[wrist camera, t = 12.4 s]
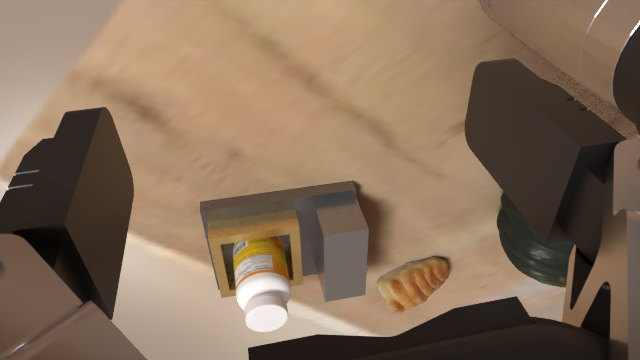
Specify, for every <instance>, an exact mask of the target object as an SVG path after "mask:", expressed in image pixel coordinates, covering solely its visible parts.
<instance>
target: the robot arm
mask: <svg viewBox="0 0 640 360" xmlns="http://www.w3.org/2000/svg"><path fill="white" fill-rule="evenodd" d="M480 2H481V5H482V7H483V10H484V11H485V12H486V14H487V15H488V17H490V18H491V19H492V20H493V21H495V22H496V23H497V24H499V25H500V26H501V27H503V28H504V29H505V30H507V31H508V32H510V33H511V34H512V35H513V36H515V37H516V38H517V39H519V40H520V41H522V42H523V43H524V44H526V45H527V46H528V47H530V48H531V49H533V50H534V51H535V52H537V53H538V54H539V55H541V56H542V57H544V58H545V59H546V60H548V61H549V62H550V63H552V64H553V65H555V66H556V67H557V68H559V69H560V70H561V71H563V72H564V73H566V74H567V75H568V76H570V77H571V78H572V79H574V80H575V81H577V82H578V83H579V84H581V85H582V86H583V87H585V88H586V89H588V90H589V91H590V92H592V93H593V94H595V95H596V96H598V97H599V98H600V99H602V100H603V101H604V102H606V103H607V104H609V105H610V106H611V107H613V108H614V109H616V110H617V111H618V112H620V113H621V114H622V115H624V116H625V117H627V118H628V119H629V120H631V121H632V122H633V123H634V124H635V125H636V127H637V130H638V132H639V135H640V0H480ZM465 136H466V140H467V143H468V146H469V148H470V149H471V150H472V152H473V153H474V154H475V156H476V157H477V158H478V159H479V161H480V162H481V163H482V164H483V166H484V167H485V168H486V169H487V171H488V172H489V173H490V174H491V176H492V177H493V178H494V180H495V181H496V182H497V183H498V185H499V186H500V187H501V188H502V190H503V191H504V192H505V193H506V195H507V196H508V197H509V199H510V200H511V201H512V202H513V204H514V205H515V206H516V207H517V209H518V210H519V211H520V212H521V214H522V215H523V216H524V217H525V219H526V220H527V221H528V223H529V224H530V225H531V226H532V228H533V229H534V230H535V231H536V233H537V234H538V235H539V236H540V238H541V239H542V240H543V242H544V243H545V244H549V243H554V242H560V241H566V240H572V242H573V243H574V247H573V249H572V252H571V254H570V258H569V266H568V275H567V283H566V292H565V302H564V310H563V319H562V322H559V321H555V320H551V319H545V318H538V317H530V316H529V315H528V313H527V312H526V310H525V308H524V307H523V305H522V304H521V302H520V301H519V299H518V298H517V296H516V297H511V298H506V299H500V300H495V301H490V302H485V303H479V304H474V305H469V306H464V307H459V308H454V309H452V310H450V311H448V312H446V313H444V314H441V315H439V316H437V317H435V318H433V319H431V320H429V321H427V322H425V323H423V324H420V325H418V326H416V327H414V328H412V329H410V330H408V331H406V332H404V333H402V334H399V335H397V336H393V337H370V336H344V335H313V336H307V337H303V338H297V339H292V340H287V341H281V342H276V343H271V344H266V345H261V346H256V347H250V348H248V353H249V360H640V138H633V139H626V138H625V137H624V136H623V135H621V134H620V133H619V132H617V131H616V130H615V129H613V128H612V127H611V126H610V125H608V124H607V123H606V122H604V121H603V120H602V119H601V118H599V117H598V116H597V115H595V114H594V113H593V112H592V111H590V110H588V111H587V109H586V107H585V106H584V105H583V104H581V103H580V102H579V101H577V100H575V101H574V97H572V96H571V95H570V94H568V93H567V92H566V91H565V90H563V89H562V88H561V87H559V86H557V85H555V84H553V83H550V82H548V81H546V80H543V79H541V78H539V77H538V76H537V75H535V74H534V73H533V72H532V71H530V70H529V69H528V68H527V67H525V66H524V65H523V64H522V63H520V62H519V61H518V60H516V59H513V58H512V59H503V60H495V61H487V62H481V63H479V64H478V65H477V67H476V69H475V71H474V75H473V81H472V86H471V92H470V97H469V103H468V109H467V114H466V120H465ZM15 173H16V176H13V178H12V180H11V182H10V184H9V186H8V188H9V190H7V191H6V192H5V194H4V196H3V198H2V200H1V202H0V360H147V359H146V358H145V357H144V356H143V355H142V354H141V353H140V351H139V350H138V349H137V348H136V347H135V346H134V345H133V344H132V343H131V342H130V341H129V340H128V339H127V338H126V336H125V335H124V334H123V333H122V332H121V331H120V330H119V329H118V328H117V327H116V326H115V325H114V324H113V323H112V321H111V319H112V317H113V312H114V306H115V300H116V295H117V289H118V283H119V277H120V271H121V266H122V260H123V255H124V249H125V243H126V237H127V232H128V226H129V220H130V214H131V209H132V203H133V196H134V187H133V179H132V174H131V170H130V167H129V164H128V161H127V158H126V155H125V153H124V150H123V147H122V144H121V141H120V138H119V135H118V133H117V130H116V127H115V124H114V121H113V118H112V116H111V114H110V112H109V110H108V109H107V108H106V107H102V108H93V109H85V110H77V111H69V112H66V113H65V114H64V116H63V118H62V120H61V123H60V125H59V127H58V129H57V131H56V134H55V136H54V138H48V139H42V140H41V141H40V142H39V143H38V144H37V145H36V146H34V147H33V148H32V149H31V150H30V151H29V152H28V153H26V154H25V155H24V157H23V159H22V161H21V163H20V165H19V167H18V169H17V170H16V172H15Z"/></svg>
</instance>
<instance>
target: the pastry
mask: <svg viewBox="0 0 640 360" xmlns="http://www.w3.org/2000/svg"><path fill="white" fill-rule="evenodd" d="M448 276H449V266H448V264H447V262H446V261H445V260H444V259H441V258H438V257H428V258H426V259H423V260H418V261H411V262H408V263H406V264H405V265H403V266H400V267H398V268H396V269H394V270H392V271H390V272H388V273H386V274H384V275H383V276H381V277H380V278H379V279H378V281H377V284H376V285H377V288H378V290H379V292H380V293H381V295H382V296H383V297H384V299H385V300H386V302H387V304H388V305H389V306H390V308H391V309H392V311H393V312H394V313H397V314H402V312H403V311H404V310H407V309H409V308H411V307H415V306H417V305H418V304H422V303H424V302H425V301H426V300H427V298H428V297H429V296H430V295H431V294H432V293H433V292H434V291H435V290H437V289H439V288H440V286H441V285H442V284H443V283H444V282H445V280H446V279H447V278H448Z"/></svg>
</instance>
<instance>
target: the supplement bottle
mask: <svg viewBox="0 0 640 360" xmlns="http://www.w3.org/2000/svg"><path fill="white" fill-rule="evenodd" d="M233 261H234V274H235V287H236V298H237V302H238V304H239V305H240V307H241V308H242V309H243V310H244V311H245V312H244V313H245V320H246V324H247V326H248V327H249V328H250V329H252V330H254V331H258V332H268V331H273V330H275V329H278V328H279V327H281V326H282V325H283V324H284V323H285V322H286V321H287V318H288V310H287V305H286V304H287V302H288V301H289V299H290V296H291V285H290V280H289V275H288V269H287V264H286V259H285V254H284V248H283V244H282V240H281V238H280V237H279V236H274V237H268V238H261V239H255V240H248V241H241V242H235V243H234V245H233Z"/></svg>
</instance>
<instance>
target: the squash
mask: <svg viewBox="0 0 640 360" xmlns="http://www.w3.org/2000/svg"><path fill="white" fill-rule="evenodd" d="M501 203H502V209H501V211H500V212H499V214H498V217H497V227H498V230H499V236H500V240H501V244H502V247H503V249H504V251H505V253H506V255H507V256H508V258H509V260H510V261H511V262H512V263H513V265H514V266H515V267H516V268H517V269H518V270H519V271H521V272H522V273H524V274H525V275H527V276H529V277H531V278H534V279H535V280H537V281H539V282H541V283H544V284H548V285H553V286H558V287H566V283H567V275H568V266H569V258H570V254H571V252H572V249H573V247H574V243H573V242H572V240H566V241H560V242H554V243H549V244H545V243H544V242H543V240H542V239H541V238H540V236H539V235H538V234H537V233H536V231H535V230H534V229H533V228H532V226H531V225H530V224H529V223H528V221H527V220H526V219H525V217H524V216H523V215H522V214H521V212H520V211H519V210H518V209H517V207H516V206H515V205H514V204H513V202H512V201H511V200H510V199H509V197H508V196H507V195H506V193H505V192H504V193H503V194H502V197H501Z"/></svg>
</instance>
